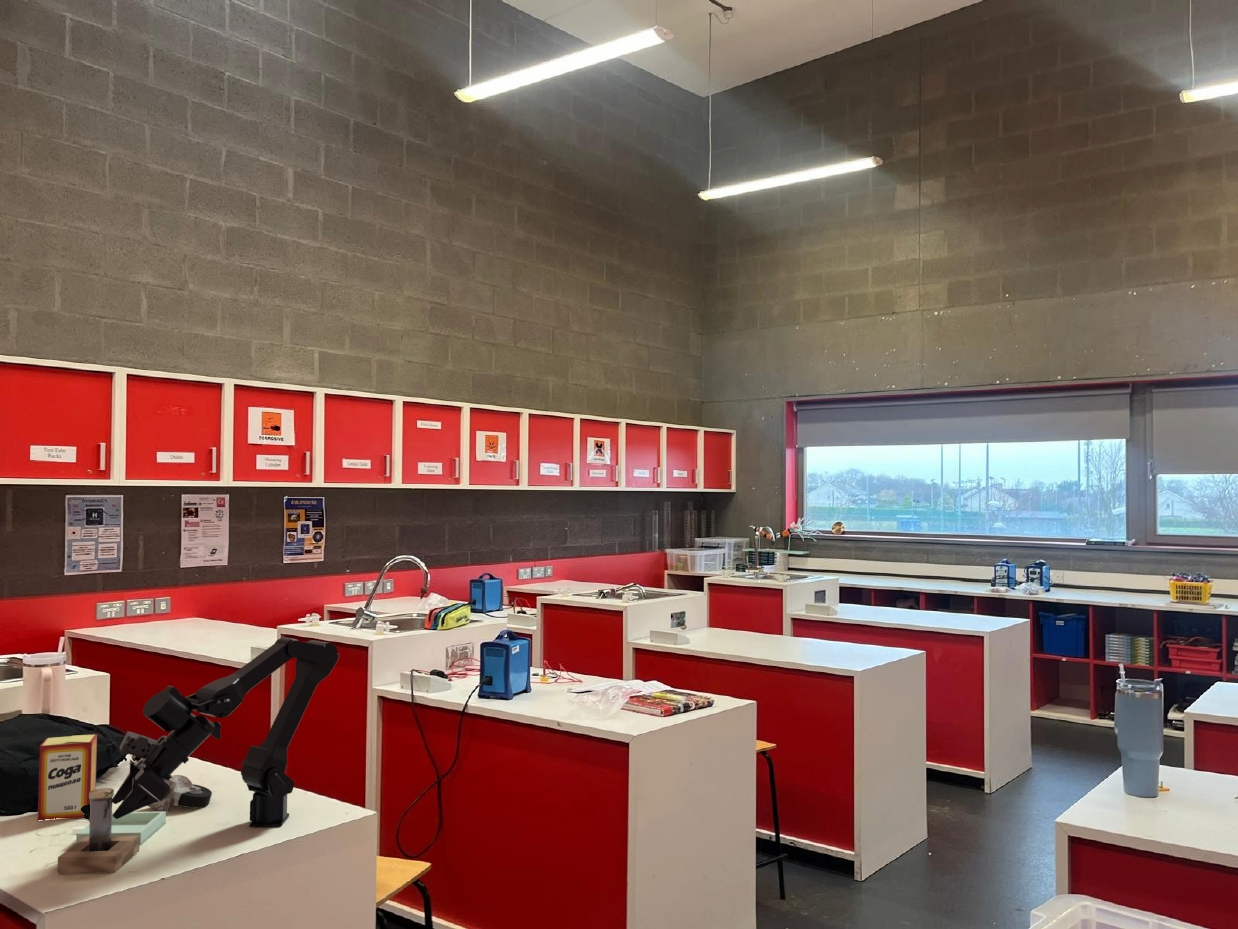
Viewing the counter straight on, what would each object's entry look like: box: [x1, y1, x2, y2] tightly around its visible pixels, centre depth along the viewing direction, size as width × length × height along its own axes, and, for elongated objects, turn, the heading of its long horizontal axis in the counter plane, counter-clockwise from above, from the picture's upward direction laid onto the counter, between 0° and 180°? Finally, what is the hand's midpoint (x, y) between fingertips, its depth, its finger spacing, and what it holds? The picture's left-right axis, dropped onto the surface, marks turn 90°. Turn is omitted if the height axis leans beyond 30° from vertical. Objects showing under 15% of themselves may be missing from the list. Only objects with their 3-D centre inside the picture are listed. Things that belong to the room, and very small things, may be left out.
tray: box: [75, 811, 167, 846], centre depth 185 cm, size 12×12×2 cm
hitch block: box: [56, 836, 140, 875], centre depth 172 cm, size 10×10×3 cm
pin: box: [89, 787, 115, 851], centre depth 172 cm, size 4×4×13 cm
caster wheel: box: [146, 774, 213, 814], centre depth 203 cm, size 7×11×10 cm
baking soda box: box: [37, 734, 98, 821], centre depth 197 cm, size 10×6×16 cm
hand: (113, 810), depth 173 cm, fingers open, 9 cm apart
